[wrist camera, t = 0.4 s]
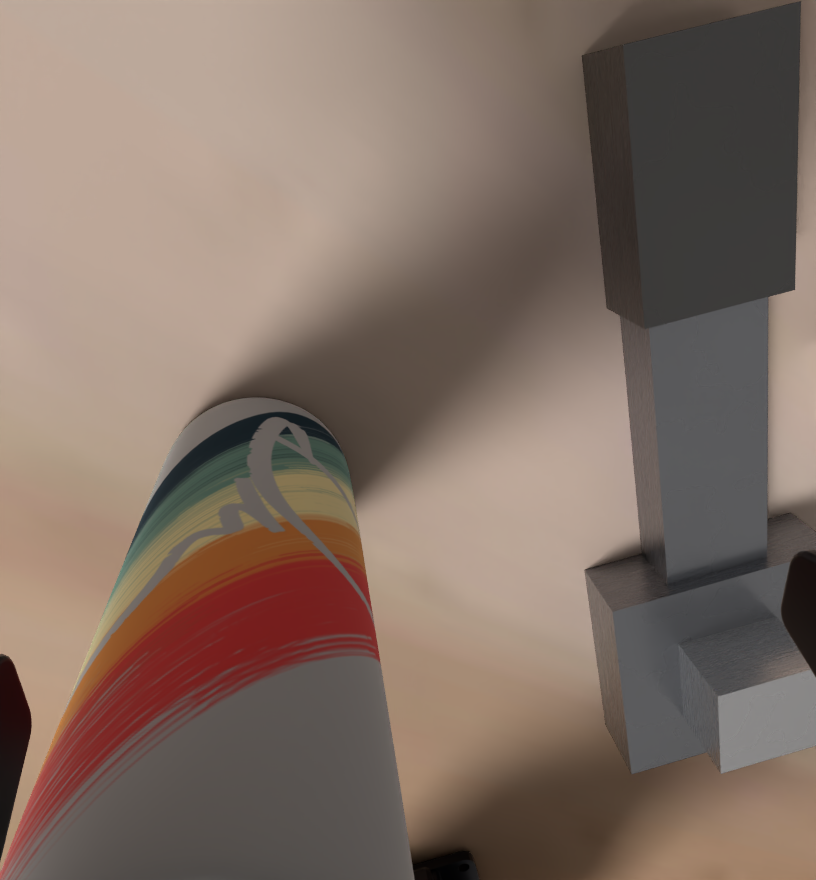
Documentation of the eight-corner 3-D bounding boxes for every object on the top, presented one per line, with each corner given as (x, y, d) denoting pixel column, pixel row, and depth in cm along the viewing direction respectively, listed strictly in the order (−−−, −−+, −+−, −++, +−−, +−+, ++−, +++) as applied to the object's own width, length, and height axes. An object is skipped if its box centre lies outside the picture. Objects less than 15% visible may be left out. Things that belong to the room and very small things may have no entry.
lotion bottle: (365, 408, 22) (719, 1823, 4) (332, 562, 24) (449, 1954, 6) (174, 378, 20) (-787, 2331, 2) (157, 543, 22) (-419, 2256, 4)
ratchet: (787, 671, 29) (877, 770, 25) (605, 724, 29) (662, 833, 24) (800, 2, 19) (959, -39, 14) (516, 71, 18) (588, 52, 14)
